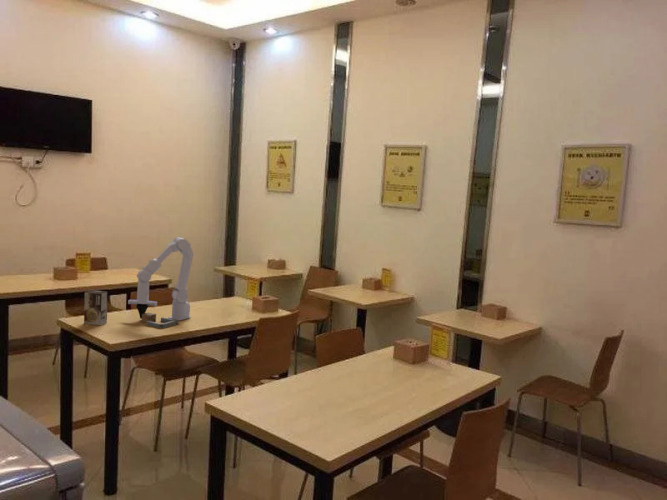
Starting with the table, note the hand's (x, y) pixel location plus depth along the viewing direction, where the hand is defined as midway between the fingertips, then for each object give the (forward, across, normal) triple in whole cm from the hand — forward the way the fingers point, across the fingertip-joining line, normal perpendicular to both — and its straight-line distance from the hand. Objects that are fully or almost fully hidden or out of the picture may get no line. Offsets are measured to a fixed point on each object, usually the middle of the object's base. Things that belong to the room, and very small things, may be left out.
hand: (141, 318), depth 286 cm
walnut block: (+1, -4, +2) cm, 5 cm away
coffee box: (+1, +19, +13) cm, 23 cm away
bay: (+1, -12, +6) cm, 14 cm away
